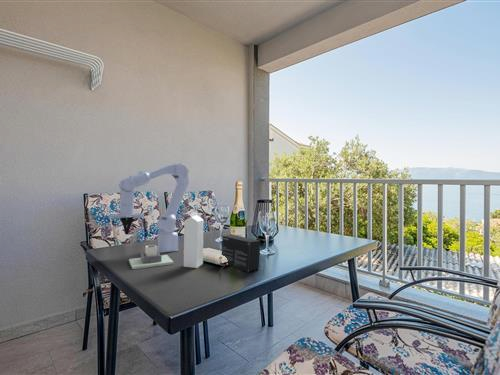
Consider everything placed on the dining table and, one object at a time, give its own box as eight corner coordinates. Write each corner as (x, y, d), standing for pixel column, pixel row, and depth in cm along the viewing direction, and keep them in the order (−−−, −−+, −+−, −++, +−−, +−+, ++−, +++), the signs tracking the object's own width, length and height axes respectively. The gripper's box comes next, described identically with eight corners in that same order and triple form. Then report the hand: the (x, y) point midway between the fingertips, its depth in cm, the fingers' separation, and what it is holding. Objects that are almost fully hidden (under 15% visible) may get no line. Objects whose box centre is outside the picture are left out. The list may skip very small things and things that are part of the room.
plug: (155, 258, 121) (155, 243, 120) (156, 261, 117) (156, 245, 117) (145, 259, 119) (145, 244, 118) (146, 262, 115) (146, 246, 115)
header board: (166, 256, 127) (167, 249, 127) (173, 264, 116) (173, 255, 116) (128, 261, 119) (128, 253, 119) (132, 269, 109) (132, 260, 109)
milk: (183, 266, 113) (183, 213, 113) (190, 262, 119) (190, 211, 119) (197, 268, 112) (197, 213, 111) (203, 263, 118) (203, 212, 117)
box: (260, 269, 112) (260, 240, 112) (248, 273, 108) (249, 242, 107) (232, 260, 124) (232, 233, 124) (220, 263, 120) (221, 235, 119)
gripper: (109, 205, 120) (109, 237, 121) (145, 204, 127) (144, 234, 128) (108, 204, 126) (108, 234, 127) (142, 203, 133) (142, 231, 134)
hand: (126, 234), depth 128 cm, fingers closed
